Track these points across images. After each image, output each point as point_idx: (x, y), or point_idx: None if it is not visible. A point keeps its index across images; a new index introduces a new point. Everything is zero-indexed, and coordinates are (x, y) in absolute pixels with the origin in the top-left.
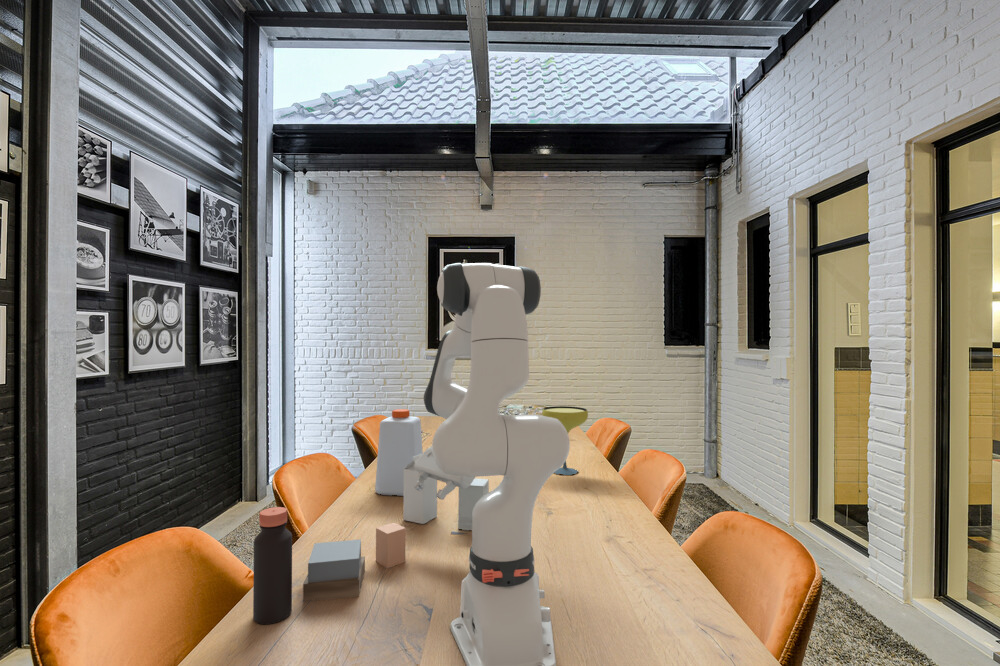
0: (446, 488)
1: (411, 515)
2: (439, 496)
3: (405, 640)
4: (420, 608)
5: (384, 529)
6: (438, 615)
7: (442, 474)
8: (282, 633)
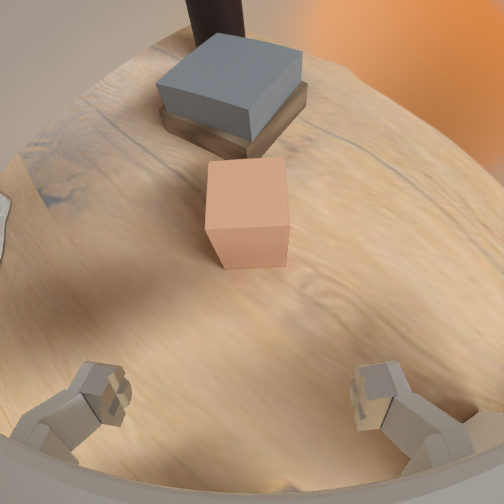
0: (46, 404)
1: (467, 429)
2: (89, 362)
3: (43, 148)
4: (61, 192)
5: (248, 169)
6: (33, 204)
7: (81, 483)
8: (173, 55)
